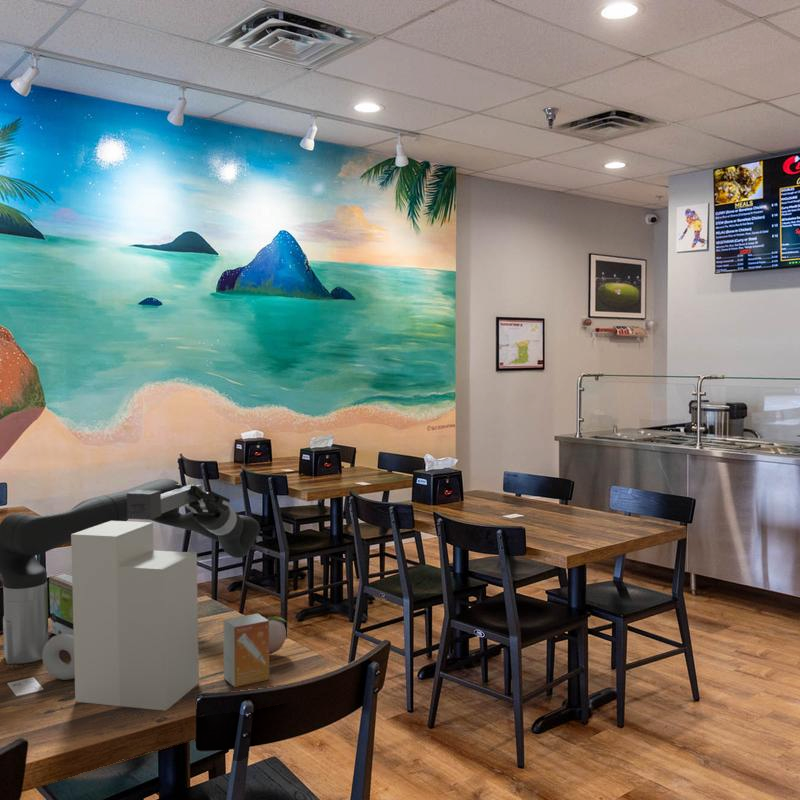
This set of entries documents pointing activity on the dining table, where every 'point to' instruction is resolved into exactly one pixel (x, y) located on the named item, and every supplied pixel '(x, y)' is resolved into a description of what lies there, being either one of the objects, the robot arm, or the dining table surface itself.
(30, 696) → the dining table surface
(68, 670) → the donut
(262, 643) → the small box
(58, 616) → the tea box
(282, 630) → the decorative fruit
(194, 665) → the two tier stand
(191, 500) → the metal bar
